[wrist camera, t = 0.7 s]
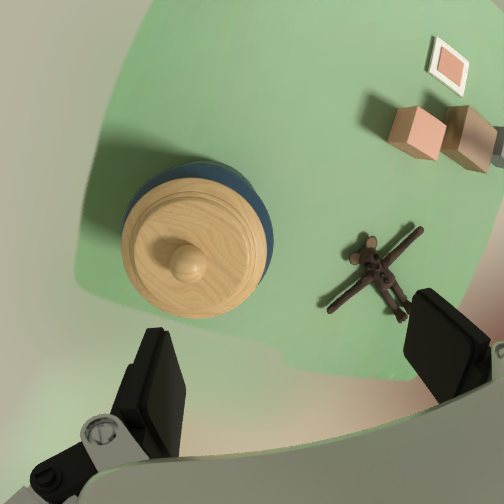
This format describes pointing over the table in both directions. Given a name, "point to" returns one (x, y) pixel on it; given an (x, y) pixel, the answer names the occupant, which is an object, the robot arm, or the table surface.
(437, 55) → the card
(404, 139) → the terracotta block
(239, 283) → the canister
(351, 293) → the brown spindly figurine
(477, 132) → the walnut block
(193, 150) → the table surface
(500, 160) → the charcoal block
